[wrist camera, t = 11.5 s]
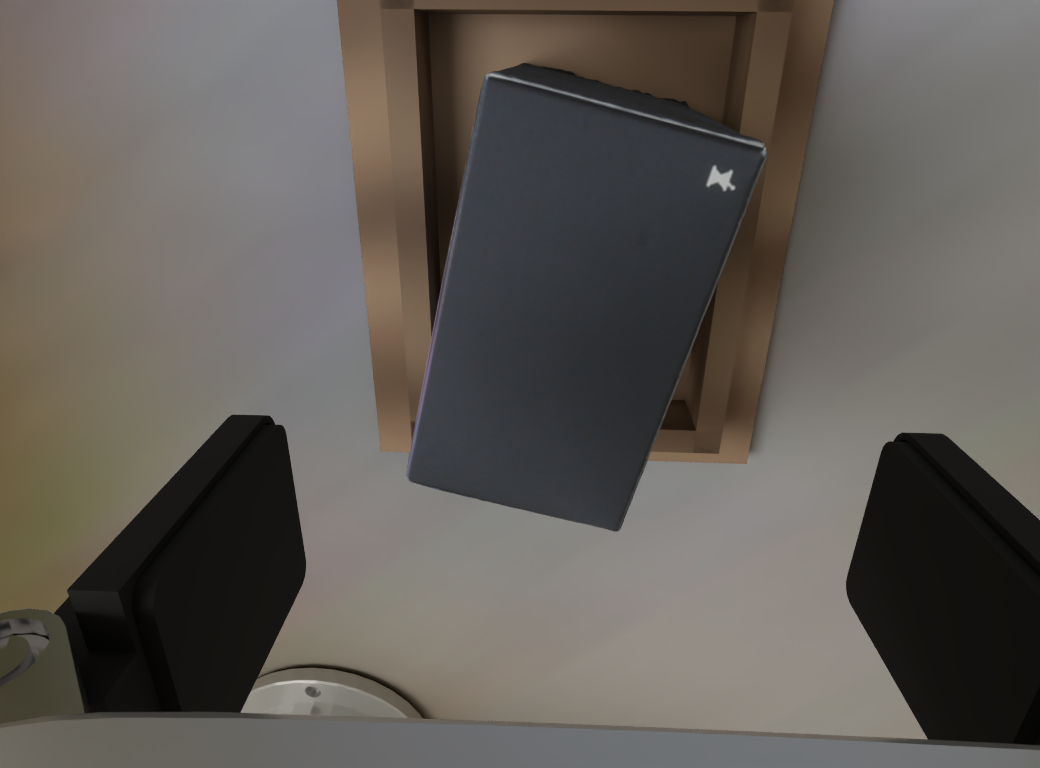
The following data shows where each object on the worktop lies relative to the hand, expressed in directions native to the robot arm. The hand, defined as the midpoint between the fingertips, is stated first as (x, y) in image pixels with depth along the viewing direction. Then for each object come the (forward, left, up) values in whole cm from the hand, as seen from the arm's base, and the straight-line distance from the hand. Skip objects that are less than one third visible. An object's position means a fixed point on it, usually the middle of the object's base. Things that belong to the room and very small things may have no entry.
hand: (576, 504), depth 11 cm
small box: (+1, 0, -16) cm, 16 cm away
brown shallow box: (+1, 0, -17) cm, 17 cm away
